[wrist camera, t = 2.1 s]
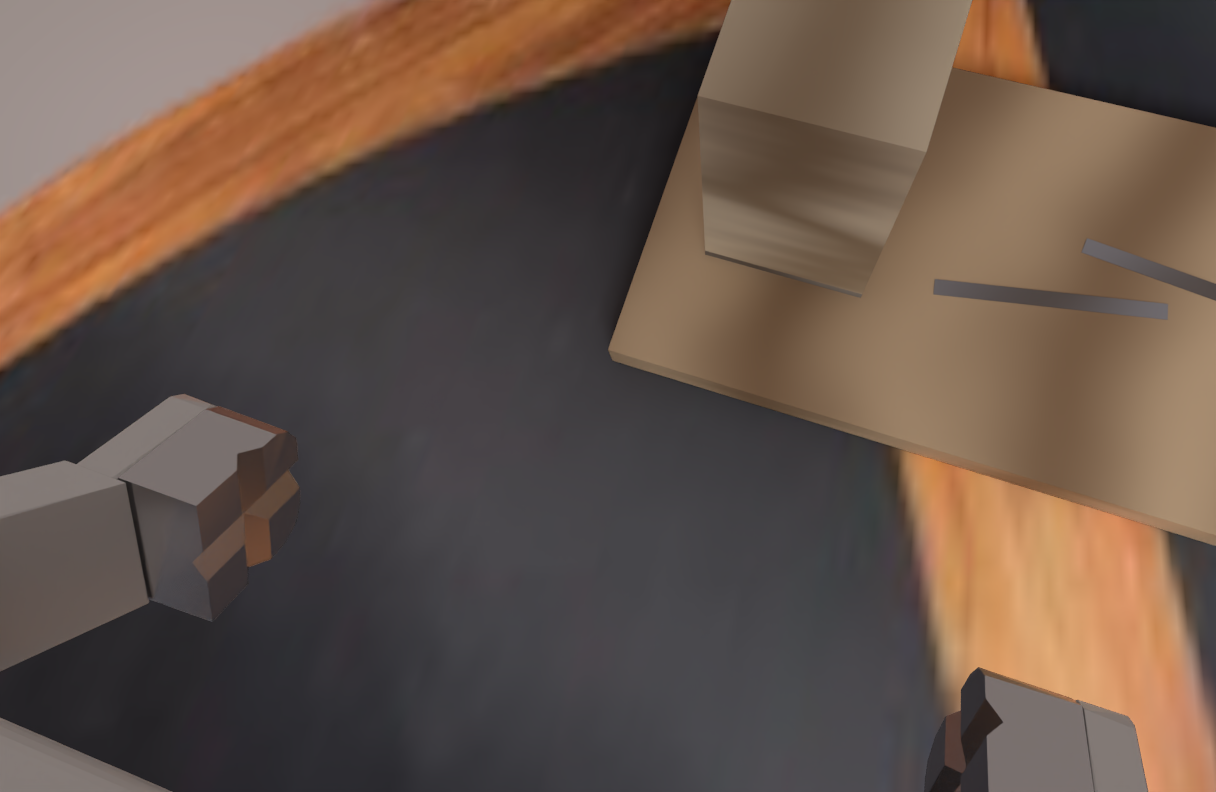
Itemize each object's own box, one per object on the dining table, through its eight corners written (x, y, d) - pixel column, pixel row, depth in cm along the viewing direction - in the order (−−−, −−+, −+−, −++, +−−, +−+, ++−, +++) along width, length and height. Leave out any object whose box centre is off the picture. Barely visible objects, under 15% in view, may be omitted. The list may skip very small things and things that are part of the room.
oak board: (1670, 259, 24) (1719, 242, 23) (1612, 667, 23) (1661, 670, 21) (725, 39, 29) (726, 15, 28) (612, 360, 27) (608, 349, 26)
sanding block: (899, 169, 26) (981, -30, 18) (860, 297, 26) (926, 151, 17) (747, 131, 27) (758, -76, 19) (705, 254, 26) (697, 95, 18)
